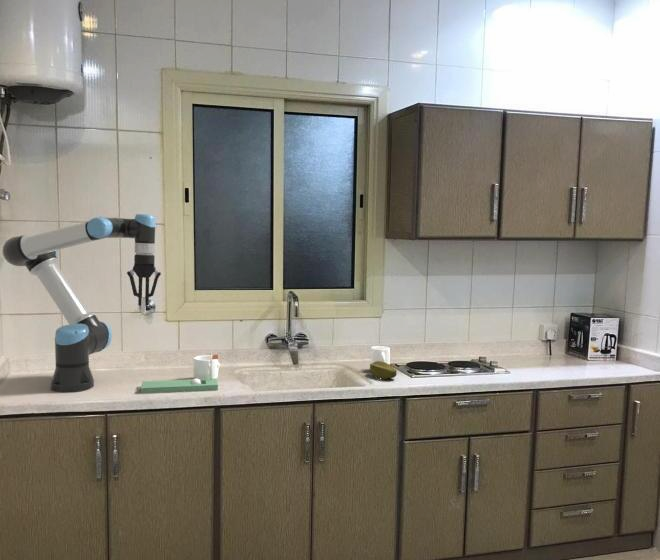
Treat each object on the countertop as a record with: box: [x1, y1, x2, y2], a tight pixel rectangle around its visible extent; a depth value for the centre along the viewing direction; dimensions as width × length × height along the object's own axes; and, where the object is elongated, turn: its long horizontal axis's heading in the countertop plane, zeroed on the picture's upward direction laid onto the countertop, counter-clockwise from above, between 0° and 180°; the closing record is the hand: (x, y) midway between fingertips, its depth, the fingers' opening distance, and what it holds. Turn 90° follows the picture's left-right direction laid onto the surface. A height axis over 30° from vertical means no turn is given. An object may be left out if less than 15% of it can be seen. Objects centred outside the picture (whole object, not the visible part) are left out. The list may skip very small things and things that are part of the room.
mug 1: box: [193, 354, 221, 380], centre depth 242 cm, size 12×10×9 cm
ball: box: [191, 378, 201, 384], centre depth 230 cm, size 4×4×4 cm
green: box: [140, 354, 219, 394], centre depth 229 cm, size 29×10×12 cm, turn 105°
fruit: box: [369, 361, 397, 380], centre depth 254 cm, size 11×12×7 cm
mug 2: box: [370, 345, 391, 365], centre depth 264 cm, size 12×8×10 cm
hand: (143, 313), depth 235 cm, fingers closed
